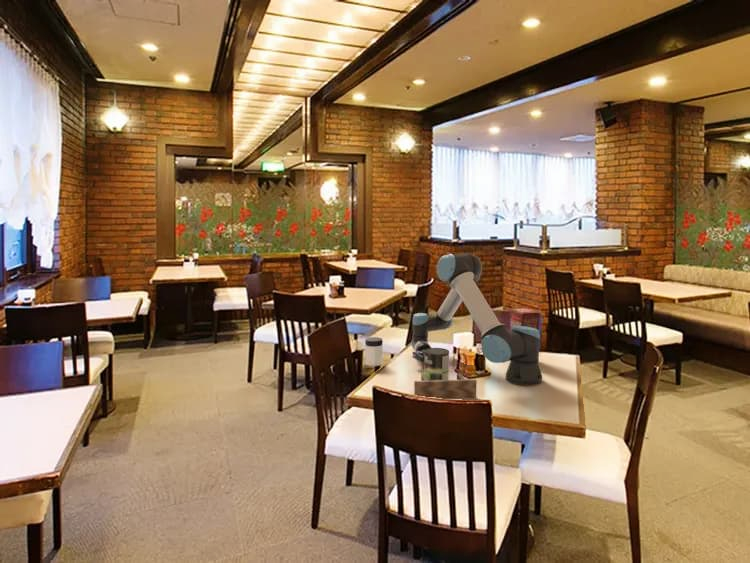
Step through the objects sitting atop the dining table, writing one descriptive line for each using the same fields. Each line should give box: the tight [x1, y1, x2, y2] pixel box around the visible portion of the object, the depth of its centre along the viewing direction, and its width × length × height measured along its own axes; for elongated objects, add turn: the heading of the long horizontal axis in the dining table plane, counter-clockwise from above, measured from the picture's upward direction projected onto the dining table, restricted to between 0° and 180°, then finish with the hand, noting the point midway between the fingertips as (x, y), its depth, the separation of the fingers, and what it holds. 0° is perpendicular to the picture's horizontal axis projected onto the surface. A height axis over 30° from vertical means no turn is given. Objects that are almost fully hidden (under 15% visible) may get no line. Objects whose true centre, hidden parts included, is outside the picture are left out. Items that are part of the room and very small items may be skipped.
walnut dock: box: [413, 372, 478, 399], centre depth 209 cm, size 24×10×7 cm, turn 94°
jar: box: [364, 336, 384, 367], centre depth 251 cm, size 9×8×12 cm
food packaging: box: [509, 307, 540, 332], centre depth 253 cm, size 13×9×25 cm
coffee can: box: [424, 347, 450, 380], centre depth 222 cm, size 10×10×14 cm
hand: (432, 364), depth 229 cm, fingers closed
